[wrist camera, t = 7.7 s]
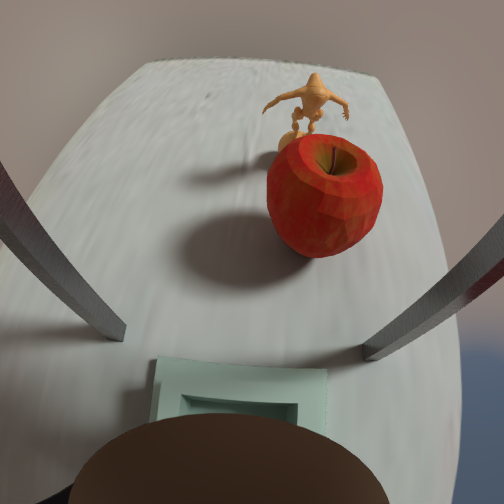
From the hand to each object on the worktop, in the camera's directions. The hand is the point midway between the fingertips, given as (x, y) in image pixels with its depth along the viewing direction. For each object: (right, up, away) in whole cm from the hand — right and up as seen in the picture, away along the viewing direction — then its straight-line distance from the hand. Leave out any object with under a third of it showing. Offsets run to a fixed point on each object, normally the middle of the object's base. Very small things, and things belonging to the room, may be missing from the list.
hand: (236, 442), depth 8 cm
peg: (0, -5, +5) cm, 7 cm away
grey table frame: (0, -4, +12) cm, 12 cm away
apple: (+5, +6, +19) cm, 21 cm away
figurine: (+5, +15, +24) cm, 29 cm away
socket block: (-1, -8, +9) cm, 12 cm away
